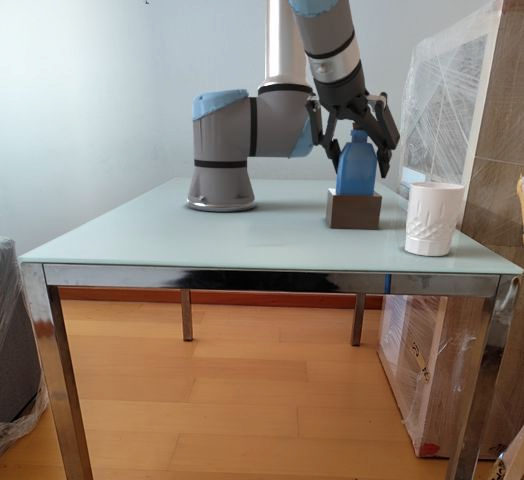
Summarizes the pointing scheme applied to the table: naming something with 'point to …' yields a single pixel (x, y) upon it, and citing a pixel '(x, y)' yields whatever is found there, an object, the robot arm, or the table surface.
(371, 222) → the walnut block
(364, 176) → the perfume bottle
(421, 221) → the white cup
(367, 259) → the table surface
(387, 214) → the table surface
